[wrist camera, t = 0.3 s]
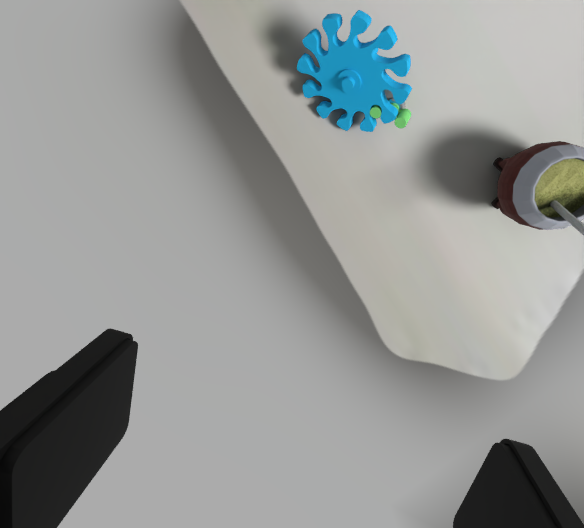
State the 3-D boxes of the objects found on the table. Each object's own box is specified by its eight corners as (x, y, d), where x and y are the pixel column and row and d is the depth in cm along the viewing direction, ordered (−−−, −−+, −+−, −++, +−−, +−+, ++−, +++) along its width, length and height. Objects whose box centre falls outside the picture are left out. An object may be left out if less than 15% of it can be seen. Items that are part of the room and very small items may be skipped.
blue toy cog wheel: (275, 81, 34) (336, -15, 25) (304, 47, 37) (368, -50, 28) (362, 161, 37) (444, 99, 28) (383, 125, 39) (464, 58, 31)
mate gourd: (522, 126, 34) (654, 111, 20) (581, 181, 35) (749, 204, 21) (460, 190, 36) (540, 217, 22) (518, 240, 37) (630, 297, 23)
